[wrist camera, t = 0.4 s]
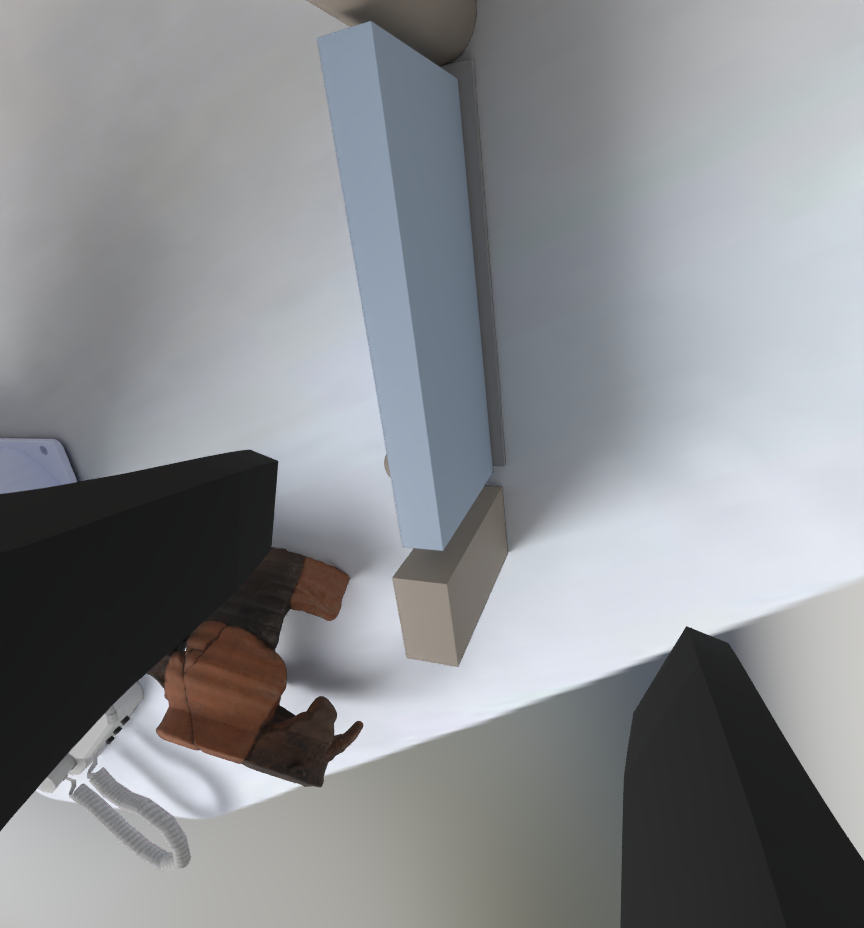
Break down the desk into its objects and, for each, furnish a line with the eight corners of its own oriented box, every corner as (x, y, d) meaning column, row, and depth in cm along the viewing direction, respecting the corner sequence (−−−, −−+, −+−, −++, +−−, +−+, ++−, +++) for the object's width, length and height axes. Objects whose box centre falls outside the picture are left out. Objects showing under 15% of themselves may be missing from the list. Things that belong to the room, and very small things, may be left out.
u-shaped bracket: (457, 549, 21) (394, 655, 16) (369, -158, 14) (195, -383, 8) (518, 554, 20) (471, 669, 15) (461, -200, 13) (328, -481, 8)
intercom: (146, 902, 38) (-120, 659, 38) (191, 841, 41) (-51, 620, 41) (217, 858, 31) (-110, 559, 31) (264, 789, 34) (-28, 522, 34)
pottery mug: (418, 587, 23) (352, 803, 19) (379, 632, 31) (326, 792, 27) (148, 487, 22) (14, 691, 18) (179, 559, 30) (90, 713, 26)
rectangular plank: (381, 98, 15) (271, 52, 11) (457, 79, 15) (371, 20, 10) (432, 470, 20) (367, 543, 15) (492, 472, 19) (443, 550, 15)
